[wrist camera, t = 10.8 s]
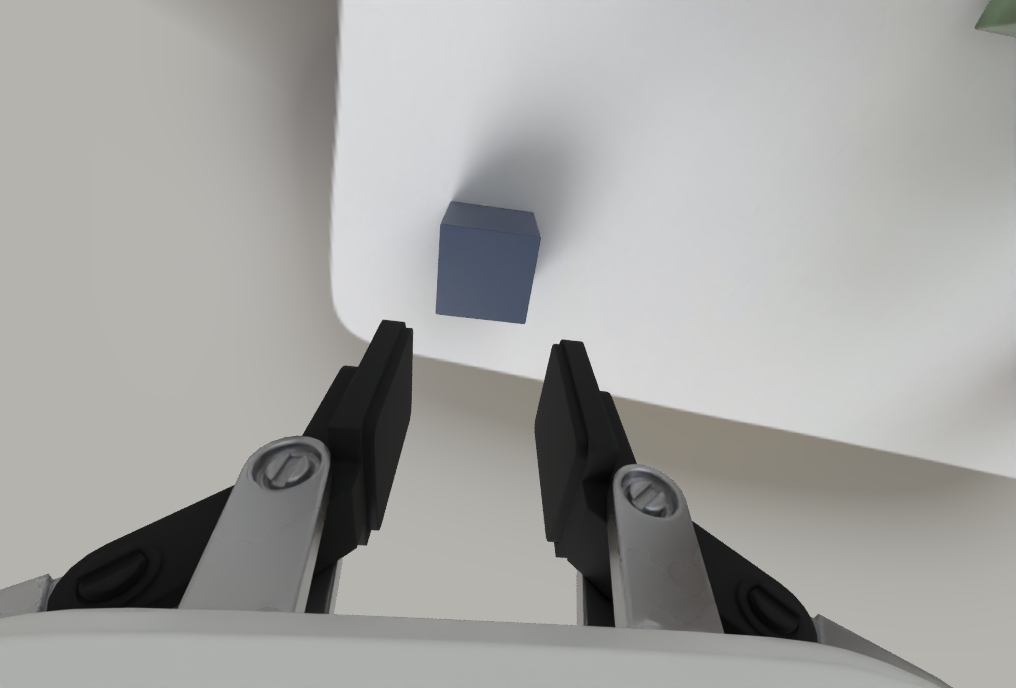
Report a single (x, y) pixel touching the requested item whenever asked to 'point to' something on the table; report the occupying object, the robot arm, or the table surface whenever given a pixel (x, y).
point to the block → (486, 262)
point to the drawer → (999, 18)
